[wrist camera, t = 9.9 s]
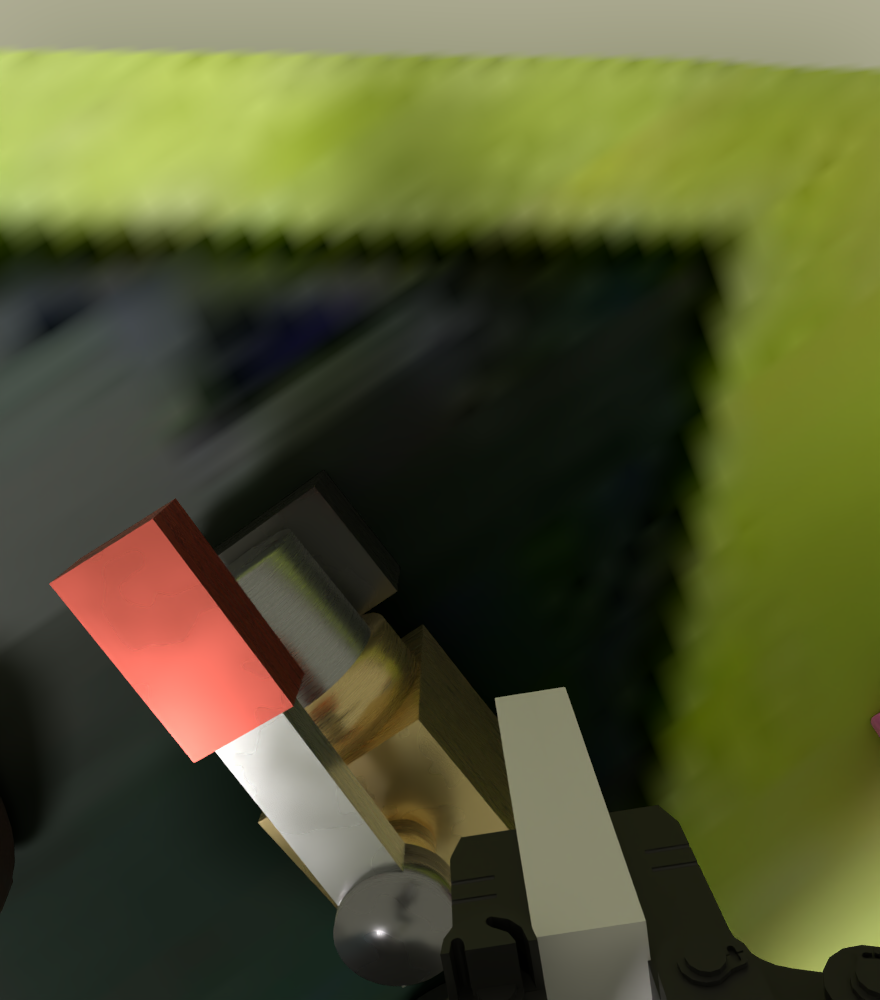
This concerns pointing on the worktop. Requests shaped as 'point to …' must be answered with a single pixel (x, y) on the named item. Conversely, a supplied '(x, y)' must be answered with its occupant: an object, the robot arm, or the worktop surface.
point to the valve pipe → (372, 673)
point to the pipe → (5, 855)
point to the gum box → (876, 723)
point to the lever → (259, 733)
